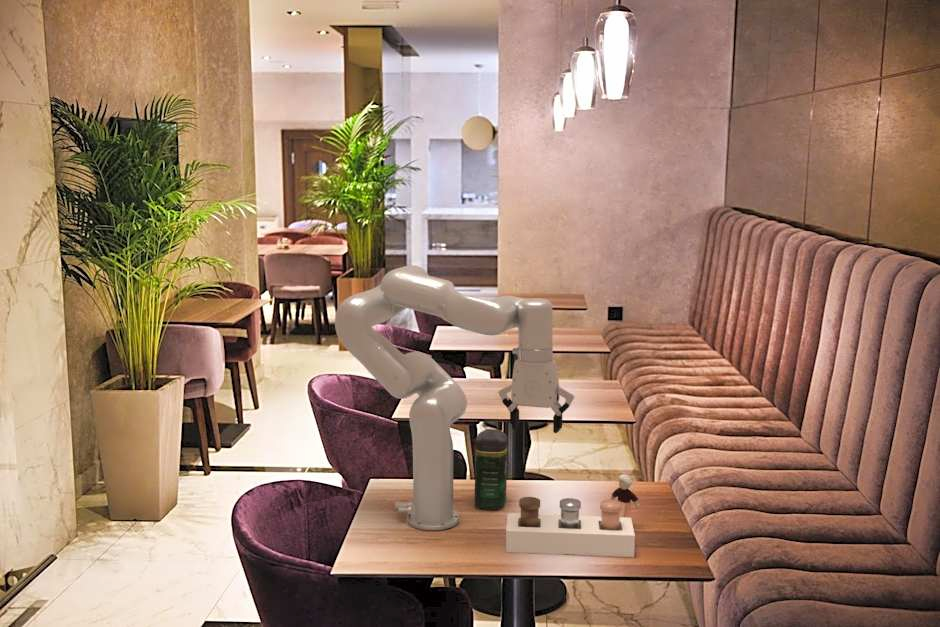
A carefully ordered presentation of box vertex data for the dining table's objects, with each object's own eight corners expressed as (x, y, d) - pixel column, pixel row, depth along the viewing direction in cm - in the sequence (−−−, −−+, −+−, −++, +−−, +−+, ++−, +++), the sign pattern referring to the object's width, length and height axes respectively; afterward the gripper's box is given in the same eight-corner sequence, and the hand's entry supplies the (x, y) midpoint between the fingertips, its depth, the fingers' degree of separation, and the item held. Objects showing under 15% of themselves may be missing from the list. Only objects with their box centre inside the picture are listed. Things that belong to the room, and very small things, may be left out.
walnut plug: (518, 529, 214) (518, 504, 213) (519, 521, 219) (519, 496, 218) (539, 530, 214) (540, 505, 213) (539, 522, 218) (540, 497, 217)
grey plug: (559, 531, 213) (559, 505, 212) (558, 523, 218) (559, 497, 217) (580, 532, 213) (581, 506, 212) (579, 523, 218) (580, 498, 216)
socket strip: (505, 552, 212) (506, 530, 211) (507, 533, 222) (508, 513, 221) (634, 557, 210) (634, 535, 209) (630, 538, 220) (631, 517, 219)
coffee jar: (504, 511, 235) (505, 439, 232) (472, 510, 236) (472, 437, 233) (508, 497, 244) (509, 427, 241) (477, 495, 245) (477, 425, 242)
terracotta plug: (600, 532, 213) (600, 507, 212) (599, 524, 217) (599, 499, 216) (621, 533, 212) (622, 508, 211) (620, 525, 217) (620, 500, 216)
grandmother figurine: (605, 525, 227) (606, 474, 225) (610, 520, 230) (612, 469, 228) (636, 532, 224) (638, 480, 221) (641, 526, 227) (643, 475, 225)
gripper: (492, 355, 212) (494, 430, 215) (568, 360, 206) (569, 437, 209) (504, 348, 219) (505, 421, 222) (578, 353, 213) (578, 428, 216)
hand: (536, 429), depth 215 cm, fingers open, 9 cm apart
